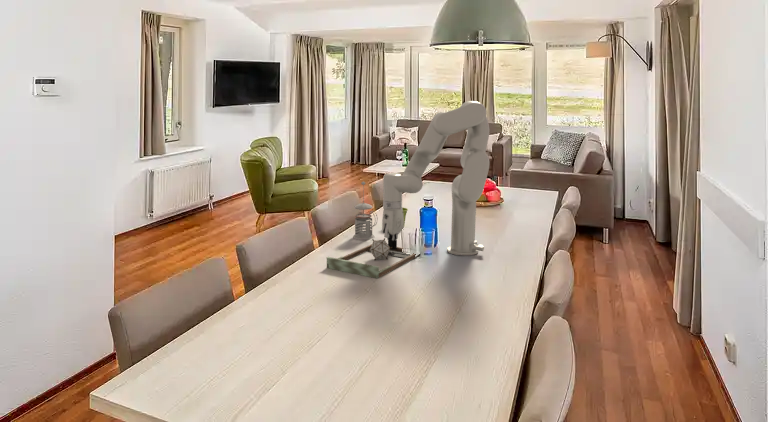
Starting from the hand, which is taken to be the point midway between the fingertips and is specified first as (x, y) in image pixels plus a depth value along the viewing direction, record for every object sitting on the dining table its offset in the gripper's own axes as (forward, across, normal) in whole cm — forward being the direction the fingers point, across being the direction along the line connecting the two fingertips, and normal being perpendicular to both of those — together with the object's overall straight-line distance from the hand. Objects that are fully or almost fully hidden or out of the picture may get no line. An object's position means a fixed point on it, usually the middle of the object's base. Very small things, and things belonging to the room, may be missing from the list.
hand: (392, 249), depth 215 cm
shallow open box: (+2, -13, 0) cm, 13 cm away
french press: (+2, +14, +22) cm, 27 cm away
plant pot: (+2, +38, +20) cm, 43 cm away
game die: (+2, -10, 0) cm, 10 cm away
